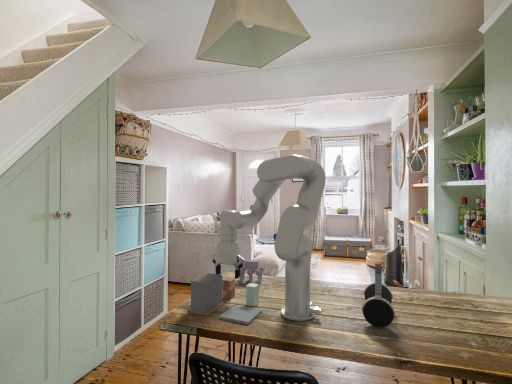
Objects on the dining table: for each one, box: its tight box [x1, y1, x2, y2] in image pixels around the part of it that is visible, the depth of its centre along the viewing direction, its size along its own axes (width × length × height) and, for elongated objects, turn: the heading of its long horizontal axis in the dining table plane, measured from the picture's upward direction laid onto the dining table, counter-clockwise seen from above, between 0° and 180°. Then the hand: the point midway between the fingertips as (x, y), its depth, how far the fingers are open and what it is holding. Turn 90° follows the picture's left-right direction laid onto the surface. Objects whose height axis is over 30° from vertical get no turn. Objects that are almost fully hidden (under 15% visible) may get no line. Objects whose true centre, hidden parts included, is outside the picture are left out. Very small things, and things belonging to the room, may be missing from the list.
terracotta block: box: [222, 277, 236, 300], centre depth 132 cm, size 4×4×8 cm
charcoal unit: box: [187, 273, 226, 316], centre depth 120 cm, size 9×13×12 cm
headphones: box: [361, 262, 396, 328], centre depth 111 cm, size 11×20×20 cm, turn 158°
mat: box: [218, 304, 263, 326], centre depth 112 cm, size 12×12×1 cm
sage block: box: [245, 282, 260, 308], centre depth 124 cm, size 4×4×8 cm
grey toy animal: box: [239, 254, 265, 285], centre depth 157 cm, size 20×11×14 cm, turn 77°
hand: (227, 276), depth 132 cm, fingers open, 9 cm apart
